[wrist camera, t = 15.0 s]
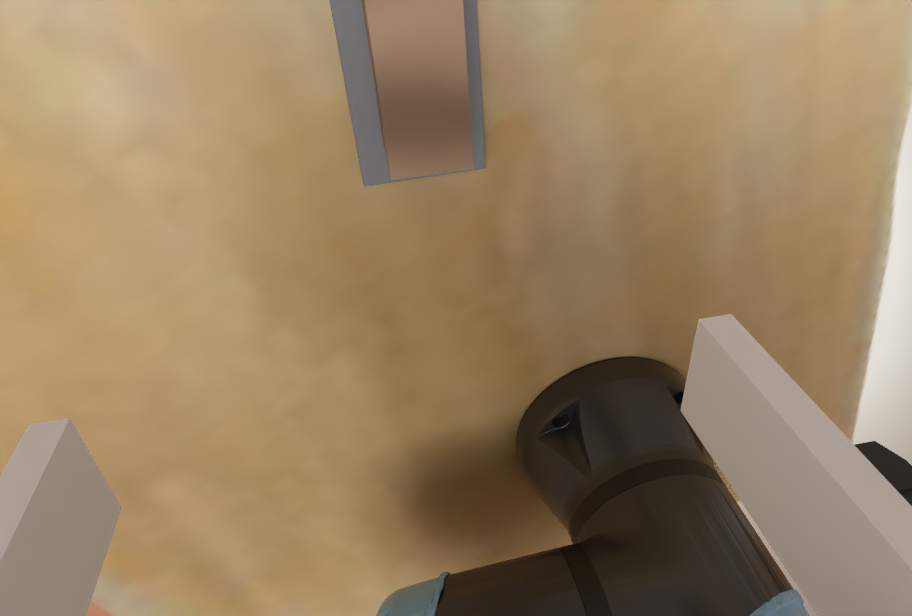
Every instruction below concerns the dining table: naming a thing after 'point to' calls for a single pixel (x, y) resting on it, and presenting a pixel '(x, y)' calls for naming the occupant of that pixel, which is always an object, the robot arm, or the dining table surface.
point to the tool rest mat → (364, 95)
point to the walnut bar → (421, 84)
